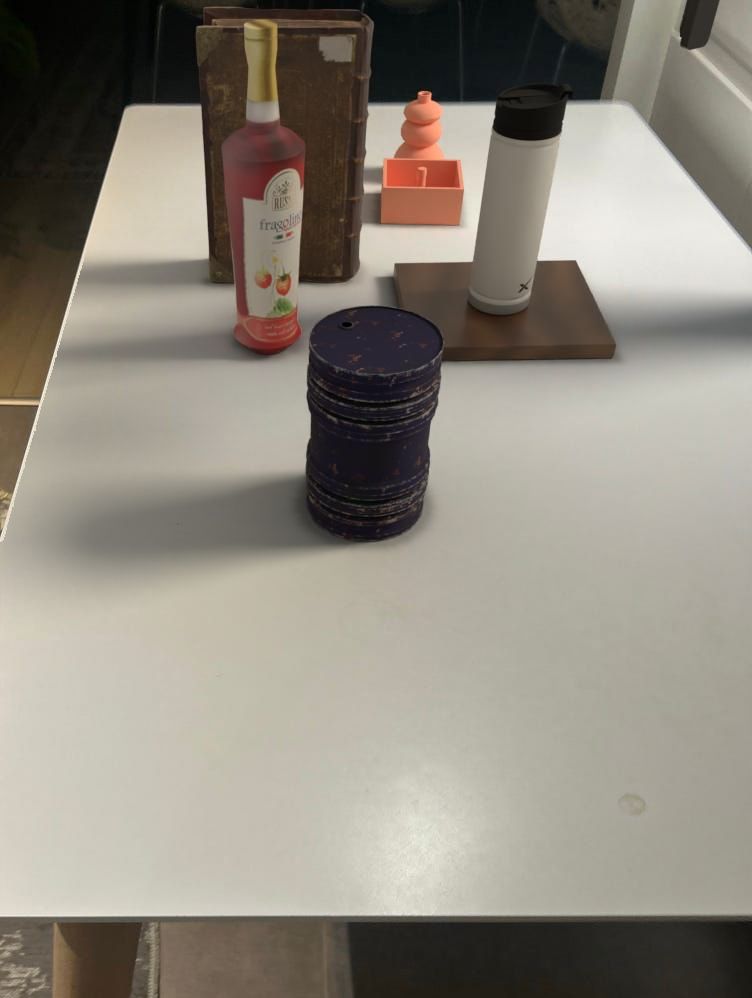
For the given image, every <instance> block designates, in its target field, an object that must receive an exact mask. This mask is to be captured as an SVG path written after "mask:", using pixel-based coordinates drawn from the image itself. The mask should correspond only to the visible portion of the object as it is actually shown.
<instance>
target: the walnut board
mask: <svg viewBox="0 0 752 998" xmlns="http://www.w3.org/2000/svg"><path fill="white" fill-rule="evenodd" d="M472 264H473V261H448V262H447V261H444V262H443V261H442V262H440V261H439V262H394V265H393V280H394V281H393V282H394V285H395V286H394V287H395V291H396V297H397V301H398V306H399V307H398V308H401V309H405V310H409V311H412V312H414V313H417V314H420V315H422V316H423V317H425V318H427V319H429V320H430V321H432V322H433V323H434V324H435V325H436V326H437V327H438V328H439V329H440V331H441V332H442V334H443V337H444V349H443V355H442V362H444V361H445V362H446V361H500V360H501V361H502V360H506V361H507V360H556V359H557V360H563V359H566V360H567V359H569V360H571V359H613V358H614V357H615V352H616V349H617V342H616V340H615V338H614V335H613V334H612V332H611V330H610V328H609V326H608V323H607V322H606V320H605V317H604V316H603V313H602V311H601V310H600V309H601V308H600V307H599V305H598V303H597V301H596V299H595V297H594V295H593V293H592V291H591V288H590V287H589V284H588V283H587V281H586V278H585V276H584V274H583V272H582V269H581V268H580V266H579V264H578V262H577V260H576V259H566V260H565V259H563V260H557V259H556V260H537V263H536V269H535V274H534V279H533V284H532V289H531V295H530V300H529V304H528V306H527V307H526V308H525V309H524V310H522V311H520V312H518V313H515V314H510V315H493V314H488V313H484V312H482V311H479V310H477V309H476V308H474V307H473V306H472V305H471V304H470V302H469V300H468V292H469V286H470V278H471V271H472Z"/></svg>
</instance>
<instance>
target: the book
mask: <svg viewBox="0 0 752 998" xmlns="http://www.w3.org/2000/svg"><path fill="white" fill-rule="evenodd" d="M202 9H203V10H202V17H203V18H202V19H203V25H197V26H196V27H195V46H196V47H195V48H196V61H197V67H198V73H199V75H198V76H199V92H200V94H199V95H200V106H201V107H200V110H201V126H202V127H201V128H202V129H201V130H202V132H201V133H202V146H203V160H204V162H203V163H204V180H205V181H204V182H205V202H206V203H205V204H206V220H207V221H206V223H207V240H208V270H209V273H208V274H209V280H210V282H214V283H215V282H218V283H235V281H234V270H233V258H232V247H231V238H230V230H229V221H228V212H227V203H226V191H225V179H224V168H223V158H222V147H221V146H222V144H223V142H224V141H225V140H226V139H227V138H228V137H229V136H230V135H231V134H232V133H233V132H235V131H236V130H238V129H240V128H242V127H245V126H246V108H247V89H248V70H249V67H248V62H247V57H246V51H245V38H244V24H245V23H246V22H248V21H252V20H272V21H275V22H276V23H277V44H278V48H277V56H276V64H275V71H276V82H277V93H278V105H279V116H280V125H281V126H284V127H286V128H289V129H291V130H292V131H293V132H295V133H296V134H297V135H298V136H299V137H300V138H301V139H302V140H303V141H304V142H305V163H304V187H303V208H302V223H301V237H300V254H299V278H298V281H308V282H314V283H315V282H316V283H344V282H345V281H347V280H351V279H352V278H354V277H355V276H356V275H358V272H359V270H360V267H361V261H360V241H361V232H362V228H363V222H362V209H363V196H364V193H365V187H364V173H365V171H364V170H365V160H366V156H367V149H366V143H367V142H366V141H367V126H368V119H369V116H370V113H369V108H368V107H369V89H370V78H371V76H372V69H371V58H372V57H371V56H372V45H373V35H374V28H375V22H374V21H373V20H372V19H371V18H370V16H369V15H368V14H366V13H363V12H362V11H360V10H359V9H345V8H344V9H341V8H340V9H338V8H337V9H330V8H327V9H326V8H324V9H323V8H322V9H297V8H296V9H293V8H290V9H289V8H248V7H241V6H207V7H203V8H202Z"/></svg>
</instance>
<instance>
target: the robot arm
mask: <svg viewBox="0 0 752 998" xmlns="http://www.w3.org/2000/svg"><path fill="white" fill-rule="evenodd" d="M720 1H721V0H686V2H685V6H684V10H683V14H682V19H681V22H680V26H679V38H680V42H679V45H680V47H681V48H682V49H685V50H688V51H692V50H693V51H694V50H696V49H701V48H704V47H705V46H707V44H708V42H709V40H710V36H711V33H712V29H713V26H714V23H715V19H716V16H717V12H718V8H719V5H720Z"/></svg>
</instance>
